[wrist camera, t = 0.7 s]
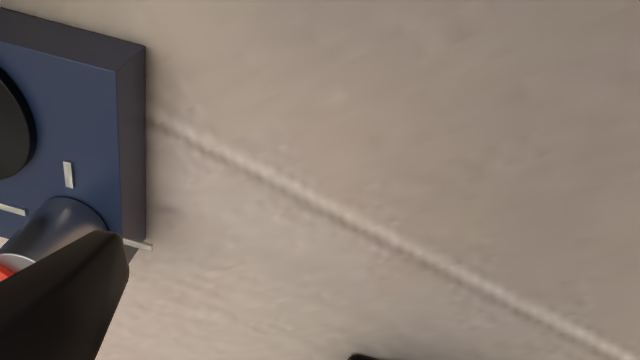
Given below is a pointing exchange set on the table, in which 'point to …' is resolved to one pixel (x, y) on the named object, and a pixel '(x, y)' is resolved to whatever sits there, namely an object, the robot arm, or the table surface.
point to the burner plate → (14, 128)
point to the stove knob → (47, 233)
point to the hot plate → (78, 124)
